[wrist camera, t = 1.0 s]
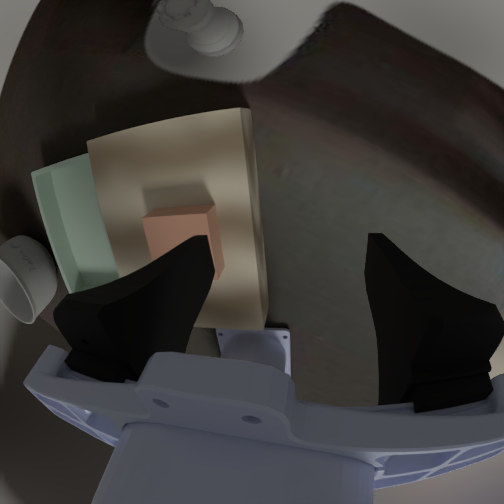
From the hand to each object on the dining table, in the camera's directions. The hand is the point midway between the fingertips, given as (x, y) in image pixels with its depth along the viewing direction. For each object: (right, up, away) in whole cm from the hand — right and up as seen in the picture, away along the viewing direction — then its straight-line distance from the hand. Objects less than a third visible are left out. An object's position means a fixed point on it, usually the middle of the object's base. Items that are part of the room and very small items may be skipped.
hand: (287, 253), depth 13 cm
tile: (-6, +1, +9) cm, 11 cm away
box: (-19, +3, +15) cm, 24 cm away
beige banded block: (-7, +3, +13) cm, 15 cm away
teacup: (-33, -1, +20) cm, 38 cm away
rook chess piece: (-4, +17, +5) cm, 19 cm away
